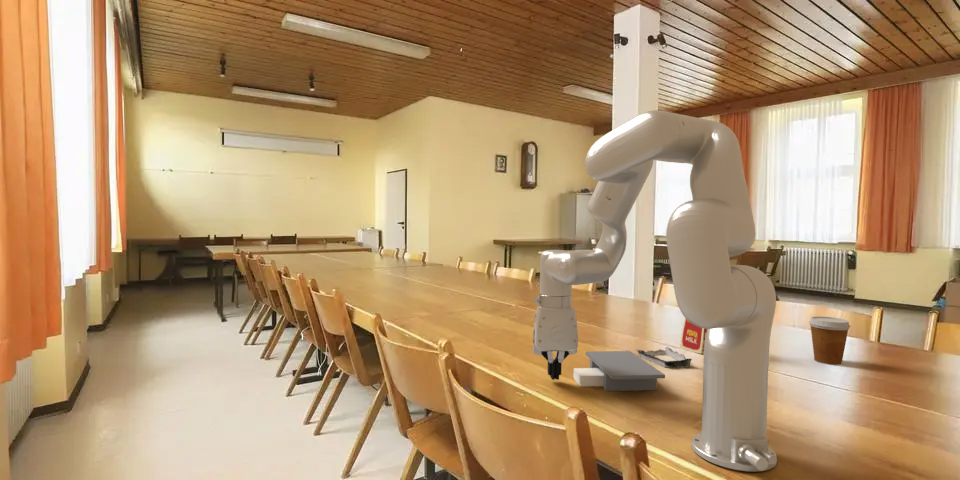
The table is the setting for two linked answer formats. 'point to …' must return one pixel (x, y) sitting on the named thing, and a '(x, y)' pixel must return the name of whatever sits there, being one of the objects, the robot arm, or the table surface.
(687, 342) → the milk carton
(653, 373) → the grey flat-topped block
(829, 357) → the disposable coffee cup
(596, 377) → the white rectangular block
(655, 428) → the table surface
